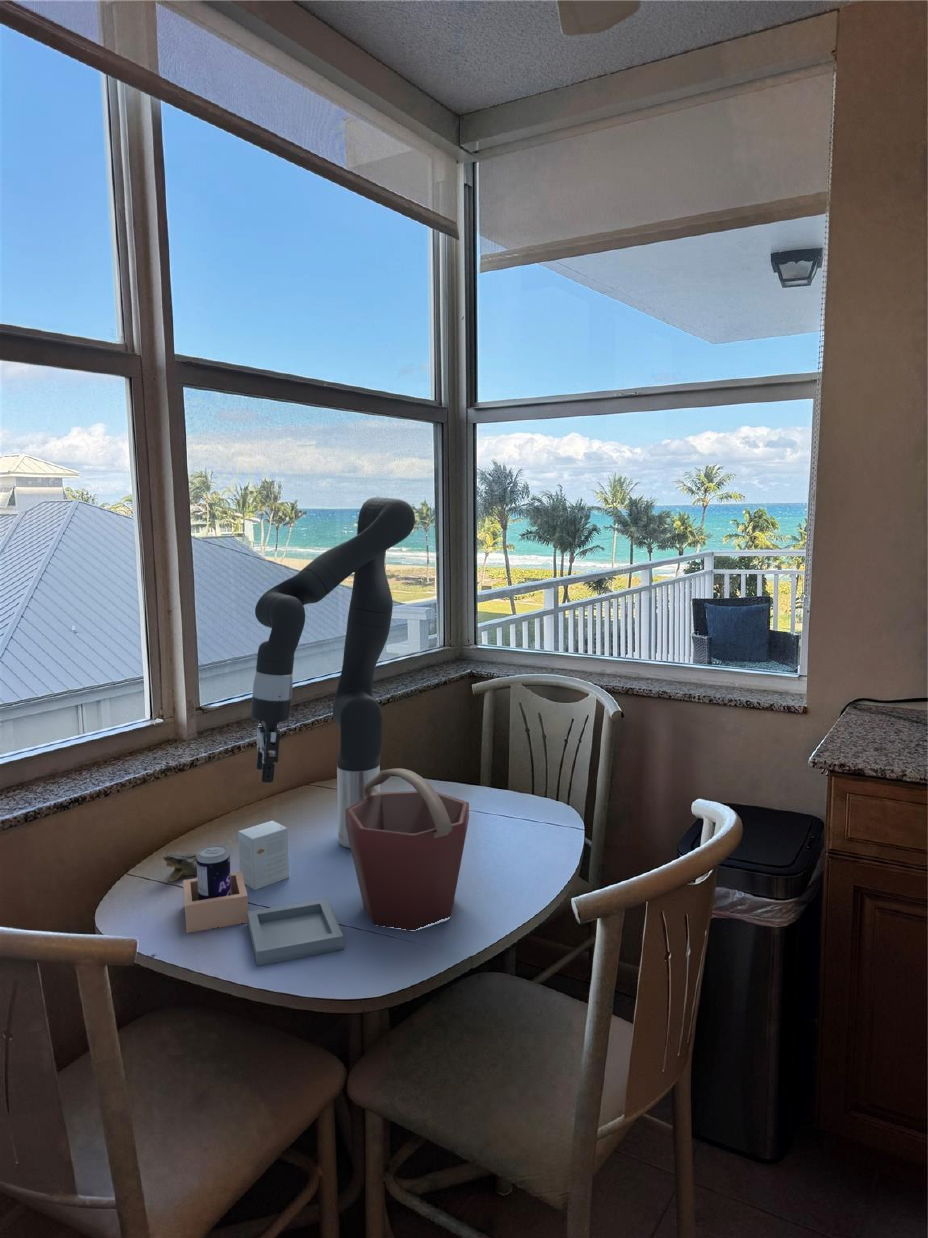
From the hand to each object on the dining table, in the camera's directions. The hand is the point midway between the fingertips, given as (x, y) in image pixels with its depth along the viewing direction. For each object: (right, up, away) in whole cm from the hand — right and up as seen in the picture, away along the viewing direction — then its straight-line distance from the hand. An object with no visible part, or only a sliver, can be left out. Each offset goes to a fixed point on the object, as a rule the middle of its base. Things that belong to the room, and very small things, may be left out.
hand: (264, 775), depth 162 cm
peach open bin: (-5, -22, -14) cm, 27 cm away
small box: (0, -21, 0) cm, 21 cm away
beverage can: (-5, -23, -14) cm, 27 cm away
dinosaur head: (-17, -21, +1) cm, 27 cm away
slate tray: (+11, -23, -22) cm, 34 cm away
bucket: (+30, -22, -12) cm, 39 cm away
